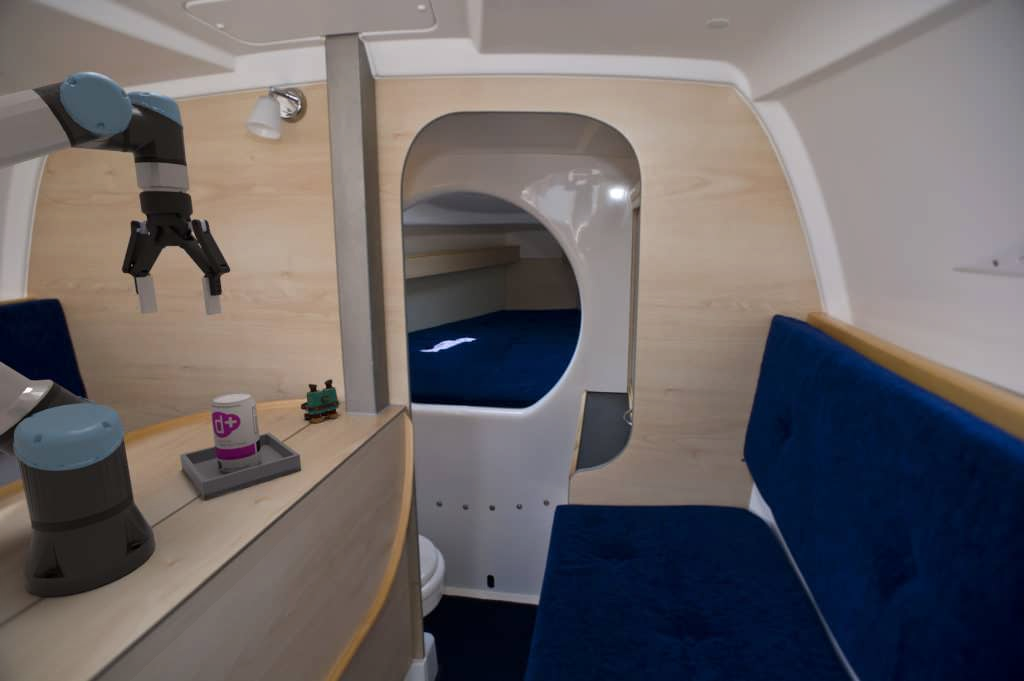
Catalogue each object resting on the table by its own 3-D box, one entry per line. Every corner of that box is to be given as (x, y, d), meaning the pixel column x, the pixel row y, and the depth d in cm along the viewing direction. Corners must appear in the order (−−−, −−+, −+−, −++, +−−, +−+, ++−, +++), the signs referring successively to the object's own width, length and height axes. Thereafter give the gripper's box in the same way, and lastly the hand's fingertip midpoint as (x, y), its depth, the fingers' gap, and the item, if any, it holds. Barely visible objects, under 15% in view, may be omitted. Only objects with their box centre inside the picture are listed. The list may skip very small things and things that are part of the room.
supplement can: (244, 475, 103) (236, 404, 100) (208, 472, 105) (199, 402, 102) (270, 459, 111) (263, 392, 108) (237, 456, 113) (229, 391, 110)
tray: (204, 500, 96) (202, 482, 95) (182, 470, 108) (180, 454, 108) (301, 470, 108) (299, 454, 107) (270, 446, 121) (269, 432, 120)
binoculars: (322, 376, 146) (340, 379, 139) (327, 412, 147) (344, 416, 140) (291, 382, 139) (308, 385, 133) (296, 420, 141) (313, 425, 134)
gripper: (243, 191, 90) (256, 311, 94) (125, 195, 95) (141, 309, 99) (211, 187, 82) (226, 317, 87) (84, 191, 87) (104, 314, 91)
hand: (181, 313), depth 93 cm, fingers open, 13 cm apart
